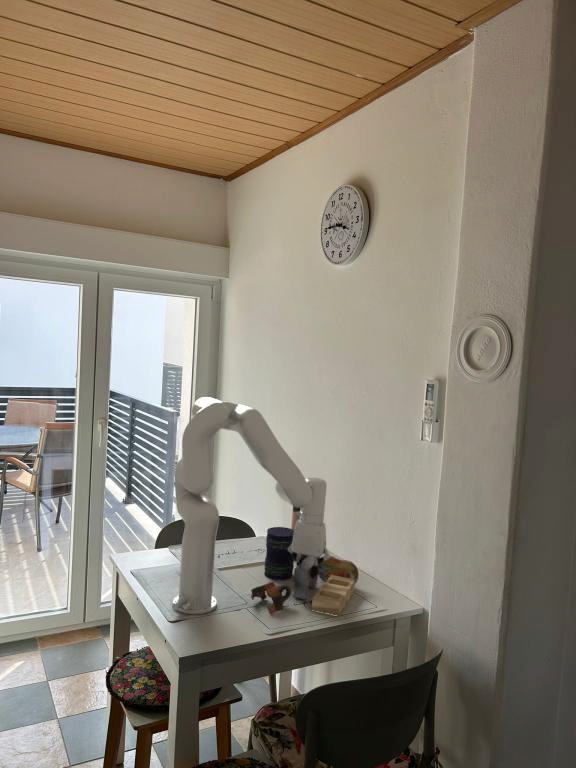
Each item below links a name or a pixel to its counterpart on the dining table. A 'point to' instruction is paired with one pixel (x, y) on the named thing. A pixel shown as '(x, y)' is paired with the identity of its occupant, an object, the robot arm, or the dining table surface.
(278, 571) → the storage jar
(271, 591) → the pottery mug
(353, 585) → the light brown long block
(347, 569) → the tin
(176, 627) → the dining table surface
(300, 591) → the clip
